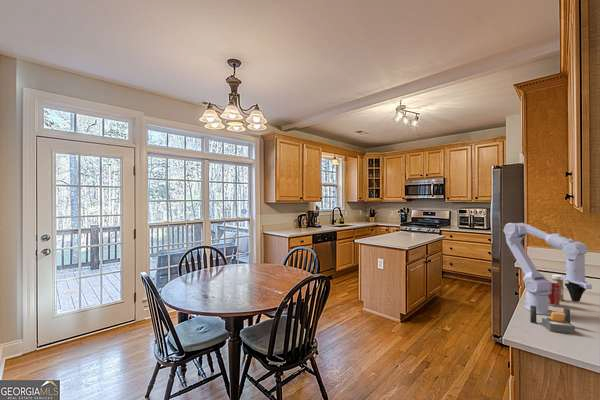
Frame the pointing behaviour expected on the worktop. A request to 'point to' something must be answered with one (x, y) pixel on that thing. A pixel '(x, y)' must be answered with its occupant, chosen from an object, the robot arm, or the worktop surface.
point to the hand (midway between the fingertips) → (575, 301)
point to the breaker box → (558, 326)
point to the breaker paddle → (557, 316)
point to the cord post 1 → (533, 314)
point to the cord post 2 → (567, 315)
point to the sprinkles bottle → (560, 282)
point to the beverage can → (554, 294)
